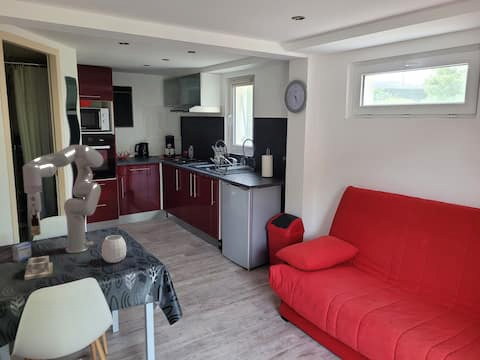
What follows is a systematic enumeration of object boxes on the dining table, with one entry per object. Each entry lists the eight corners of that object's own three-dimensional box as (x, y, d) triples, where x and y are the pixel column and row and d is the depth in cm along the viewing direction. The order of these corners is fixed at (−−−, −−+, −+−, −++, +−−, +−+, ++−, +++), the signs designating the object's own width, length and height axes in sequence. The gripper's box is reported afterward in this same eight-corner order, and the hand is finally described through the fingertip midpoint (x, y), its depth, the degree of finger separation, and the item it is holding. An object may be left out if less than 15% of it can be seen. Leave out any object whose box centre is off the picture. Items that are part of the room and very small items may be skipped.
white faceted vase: (123, 265, 194) (122, 241, 191) (98, 265, 193) (97, 241, 190) (129, 255, 207) (128, 233, 204) (106, 255, 206) (105, 233, 203)
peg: (40, 232, 181) (39, 206, 179) (40, 235, 178) (38, 208, 175) (31, 233, 179) (30, 206, 177) (31, 236, 176) (29, 208, 174)
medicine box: (19, 262, 193) (17, 247, 191) (13, 260, 194) (11, 245, 193) (32, 256, 200) (30, 242, 199) (26, 255, 202) (24, 241, 200)
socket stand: (52, 264, 191) (51, 253, 190) (52, 275, 179) (51, 263, 178) (26, 268, 186) (25, 257, 184) (24, 280, 173) (23, 267, 172)
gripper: (41, 192, 169) (43, 228, 172) (42, 185, 184) (44, 219, 187) (22, 192, 166) (25, 230, 169) (25, 186, 180) (28, 220, 183)
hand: (35, 224), depth 178 cm, fingers closed on peg, 4 cm apart
